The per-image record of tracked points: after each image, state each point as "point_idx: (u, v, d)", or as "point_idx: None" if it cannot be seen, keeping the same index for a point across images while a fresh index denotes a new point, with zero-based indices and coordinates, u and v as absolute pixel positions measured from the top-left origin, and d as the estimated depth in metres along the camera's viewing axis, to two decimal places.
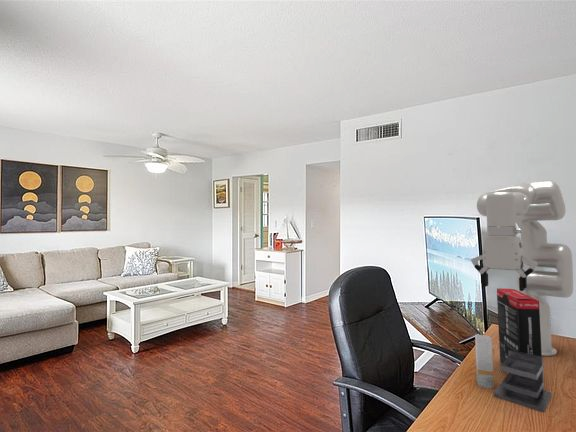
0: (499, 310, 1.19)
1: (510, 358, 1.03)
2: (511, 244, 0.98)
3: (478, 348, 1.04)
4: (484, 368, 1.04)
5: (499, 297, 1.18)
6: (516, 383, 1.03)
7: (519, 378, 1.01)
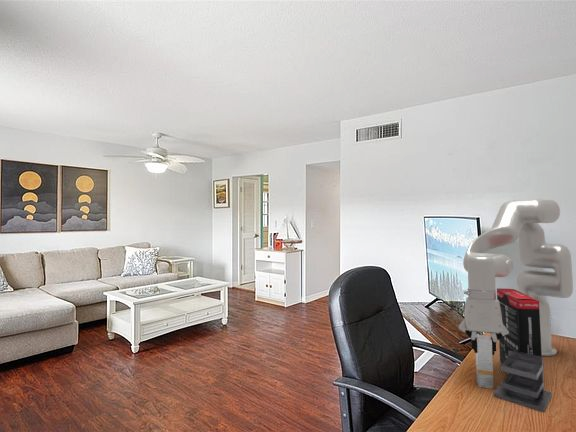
0: None
1: (510, 358, 1.03)
2: None
3: (478, 348, 1.04)
4: (484, 368, 1.04)
5: (499, 297, 1.18)
6: (516, 383, 1.03)
7: (519, 378, 1.01)
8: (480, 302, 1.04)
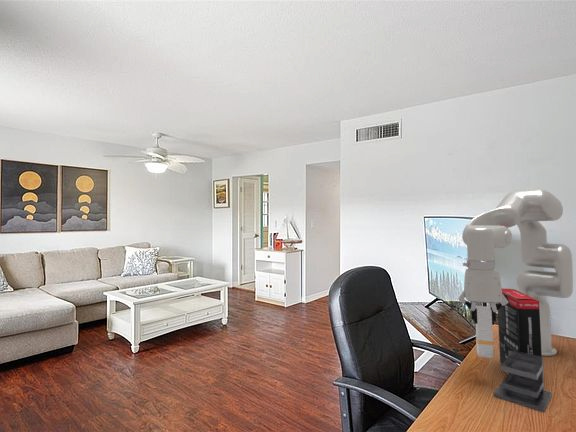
0: (499, 310, 1.19)
1: (510, 358, 1.03)
2: None
3: (478, 318, 1.05)
4: (484, 338, 1.04)
5: None
6: (516, 383, 1.03)
7: (519, 378, 1.01)
8: (479, 273, 1.04)
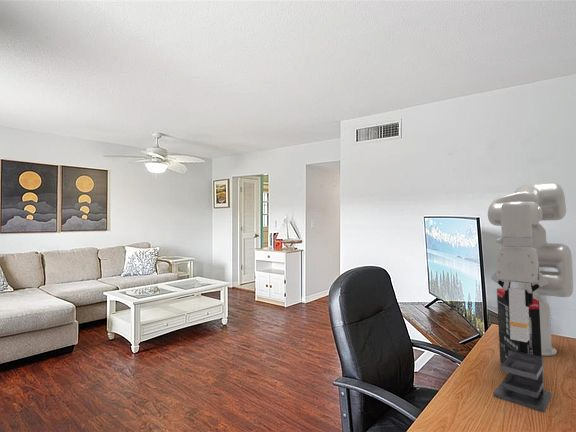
0: (499, 310, 1.19)
1: (510, 358, 1.03)
2: None
3: (510, 298, 0.99)
4: (516, 320, 0.98)
5: (499, 297, 1.18)
6: (516, 383, 1.03)
7: (519, 378, 1.01)
8: (511, 250, 0.98)
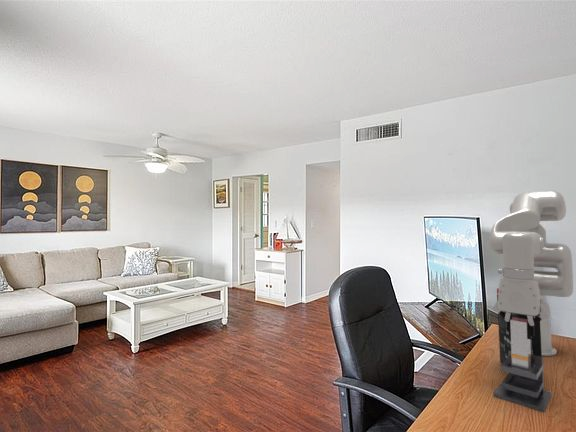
0: None
1: (510, 358, 1.03)
2: None
3: (511, 330, 0.98)
4: (518, 352, 0.97)
5: None
6: (516, 383, 1.03)
7: (519, 378, 1.01)
8: (513, 281, 0.98)
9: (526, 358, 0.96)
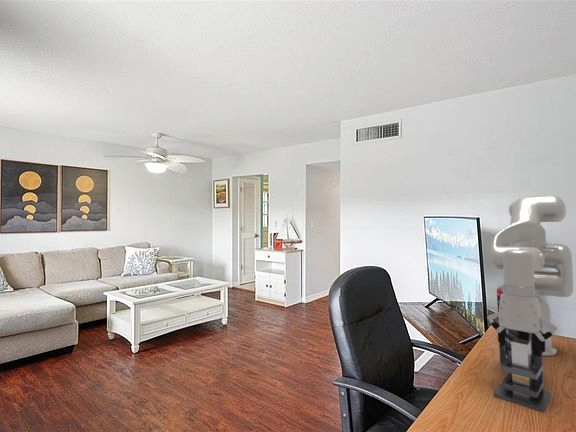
0: None
1: (510, 358, 1.03)
2: None
3: (512, 352, 0.98)
4: None
5: (499, 297, 1.18)
6: None
7: None
8: (513, 298, 0.98)
9: (527, 380, 0.96)
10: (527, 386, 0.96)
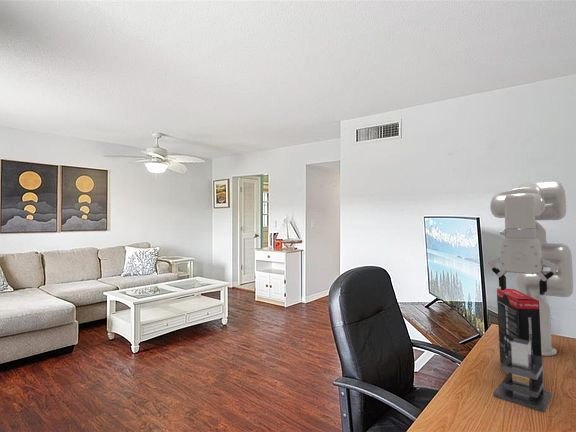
0: (499, 310, 1.19)
1: (510, 358, 1.03)
2: None
3: (512, 352, 0.98)
4: None
5: (499, 297, 1.18)
6: None
7: None
8: (514, 241, 0.99)
9: (527, 380, 0.96)
10: (527, 386, 0.96)
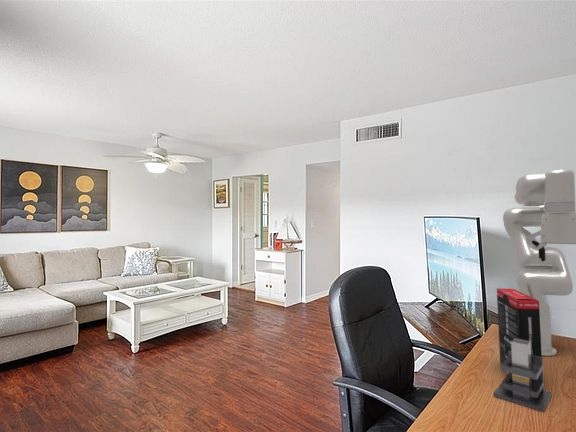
0: (499, 310, 1.19)
1: (510, 358, 1.03)
2: None
3: (512, 352, 0.98)
4: None
5: (499, 297, 1.18)
6: None
7: None
8: (555, 214, 1.06)
9: (527, 380, 0.96)
10: (527, 386, 0.96)
